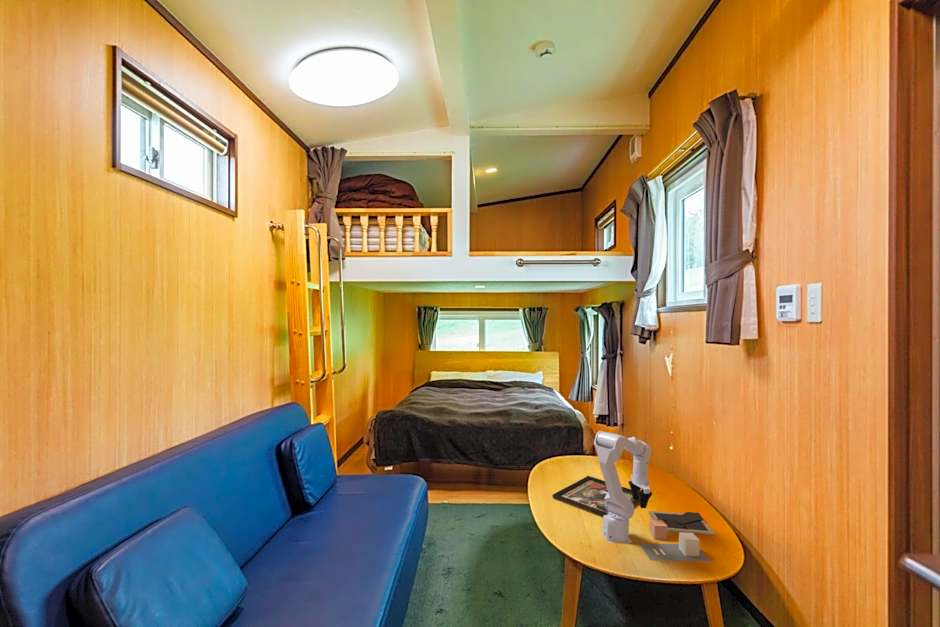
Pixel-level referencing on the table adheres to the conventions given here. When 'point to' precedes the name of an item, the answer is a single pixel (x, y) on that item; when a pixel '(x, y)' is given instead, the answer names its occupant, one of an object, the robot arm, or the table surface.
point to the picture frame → (683, 522)
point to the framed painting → (589, 495)
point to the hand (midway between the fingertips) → (639, 503)
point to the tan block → (689, 544)
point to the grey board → (669, 553)
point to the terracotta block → (658, 529)
